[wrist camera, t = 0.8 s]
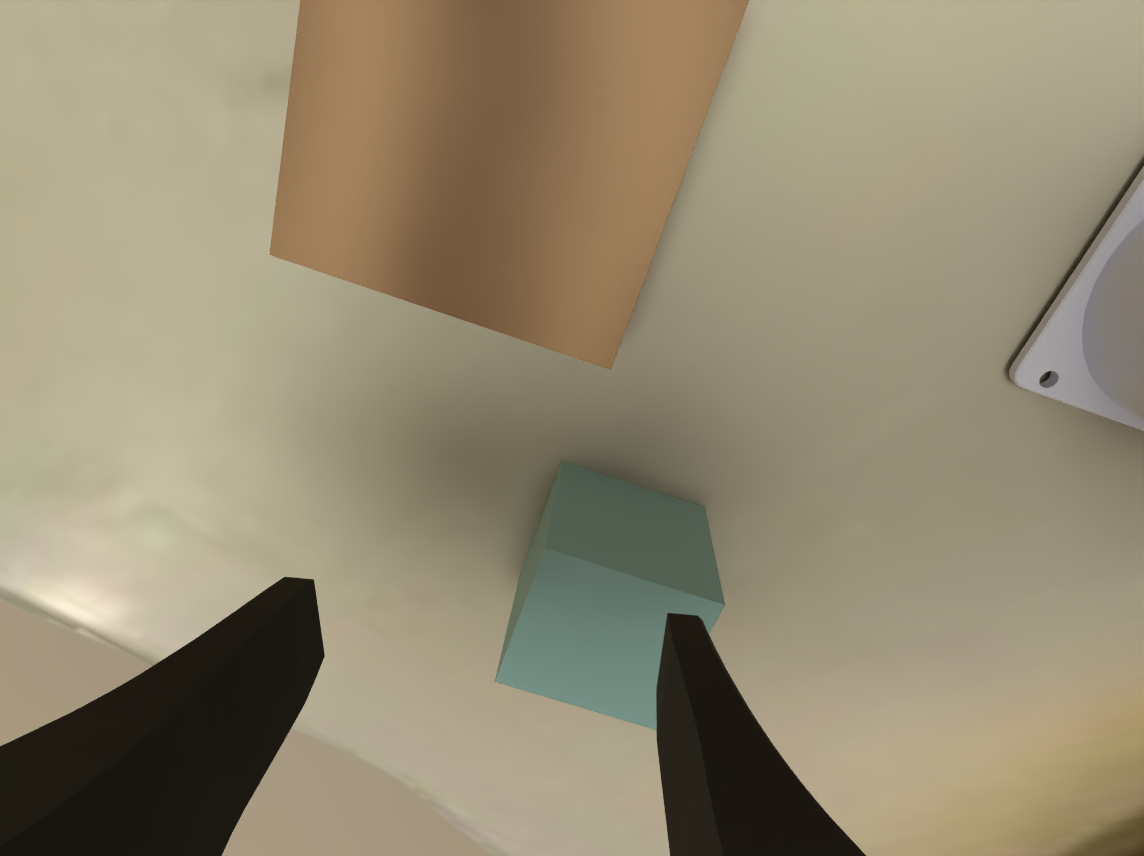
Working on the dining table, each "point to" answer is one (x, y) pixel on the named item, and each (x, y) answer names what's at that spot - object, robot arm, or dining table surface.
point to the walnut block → (497, 153)
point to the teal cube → (607, 593)
